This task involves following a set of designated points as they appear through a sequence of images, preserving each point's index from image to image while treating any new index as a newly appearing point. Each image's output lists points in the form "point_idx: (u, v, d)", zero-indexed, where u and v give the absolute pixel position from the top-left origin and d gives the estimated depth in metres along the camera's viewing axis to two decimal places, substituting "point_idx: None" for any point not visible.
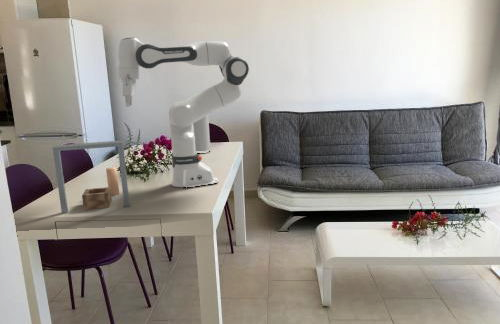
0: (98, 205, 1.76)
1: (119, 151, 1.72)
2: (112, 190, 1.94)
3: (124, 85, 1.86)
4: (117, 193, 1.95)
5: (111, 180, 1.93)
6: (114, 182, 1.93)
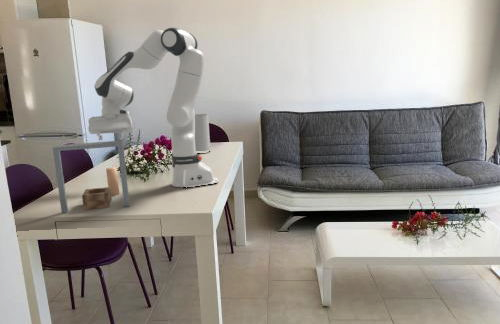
0: (98, 205, 1.76)
1: (119, 151, 1.72)
2: (112, 190, 1.94)
3: None
4: (117, 193, 1.95)
5: (111, 180, 1.93)
6: (114, 182, 1.93)
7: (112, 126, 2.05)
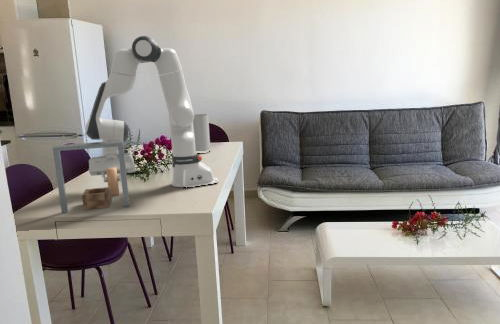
0: (98, 205, 1.76)
1: (119, 151, 1.72)
2: (112, 190, 1.94)
3: None
4: (117, 193, 1.95)
5: (111, 180, 1.93)
6: (114, 181, 1.93)
7: None
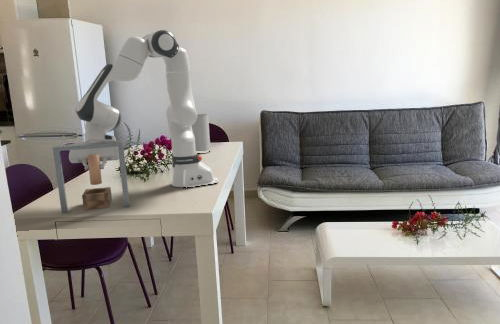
0: (98, 205, 1.76)
1: (119, 151, 1.72)
2: (94, 179, 1.78)
3: None
4: (99, 182, 1.79)
5: (93, 168, 1.77)
6: (95, 169, 1.77)
7: (95, 153, 1.81)
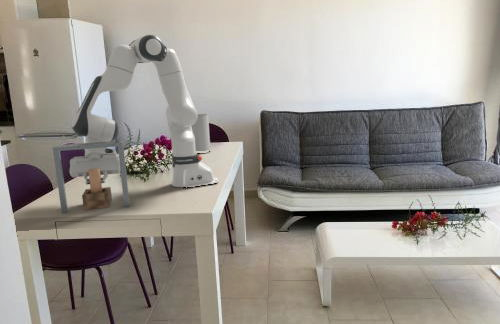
0: (98, 205, 1.76)
1: (119, 151, 1.72)
2: None
3: None
4: None
5: (94, 182, 1.77)
6: (96, 184, 1.77)
7: (96, 167, 1.80)
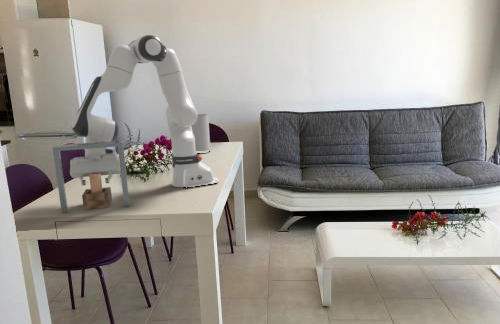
0: (98, 205, 1.76)
1: (119, 151, 1.72)
2: None
3: None
4: None
5: (95, 187, 1.77)
6: (97, 189, 1.78)
7: (96, 168, 1.80)
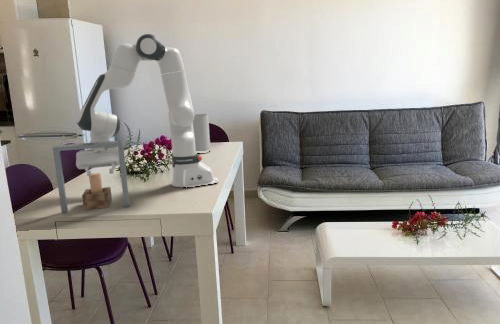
0: (98, 205, 1.76)
1: (119, 151, 1.72)
2: None
3: None
4: None
5: (94, 188, 1.77)
6: (97, 189, 1.77)
7: (101, 160, 1.93)
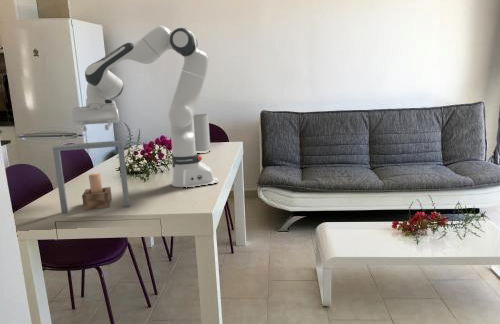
0: (98, 205, 1.76)
1: (119, 151, 1.72)
2: None
3: None
4: None
5: (94, 188, 1.77)
6: (97, 189, 1.77)
7: (96, 116, 1.94)
